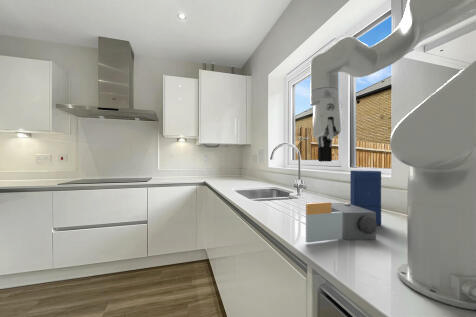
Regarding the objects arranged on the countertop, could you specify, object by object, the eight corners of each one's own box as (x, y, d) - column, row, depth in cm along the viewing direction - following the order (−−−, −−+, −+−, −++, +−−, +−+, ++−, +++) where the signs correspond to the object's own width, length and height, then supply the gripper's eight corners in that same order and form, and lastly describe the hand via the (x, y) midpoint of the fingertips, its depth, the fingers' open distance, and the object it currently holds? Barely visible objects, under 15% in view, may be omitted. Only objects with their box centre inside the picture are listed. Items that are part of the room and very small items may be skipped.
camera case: (380, 240, 60) (380, 211, 60) (348, 241, 59) (348, 212, 59) (346, 224, 75) (347, 201, 75) (321, 224, 74) (321, 201, 74)
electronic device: (374, 221, 79) (374, 170, 79) (382, 225, 74) (382, 171, 74) (349, 220, 80) (349, 170, 80) (355, 224, 75) (355, 170, 75)
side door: (340, 237, 60) (340, 201, 61) (342, 238, 60) (342, 202, 60) (305, 241, 57) (305, 203, 57) (307, 242, 56) (307, 204, 56)
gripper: (349, 88, 51) (350, 161, 50) (328, 105, 66) (329, 161, 65) (318, 89, 51) (319, 161, 51) (304, 106, 66) (305, 161, 66)
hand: (324, 161), depth 58 cm, fingers closed
